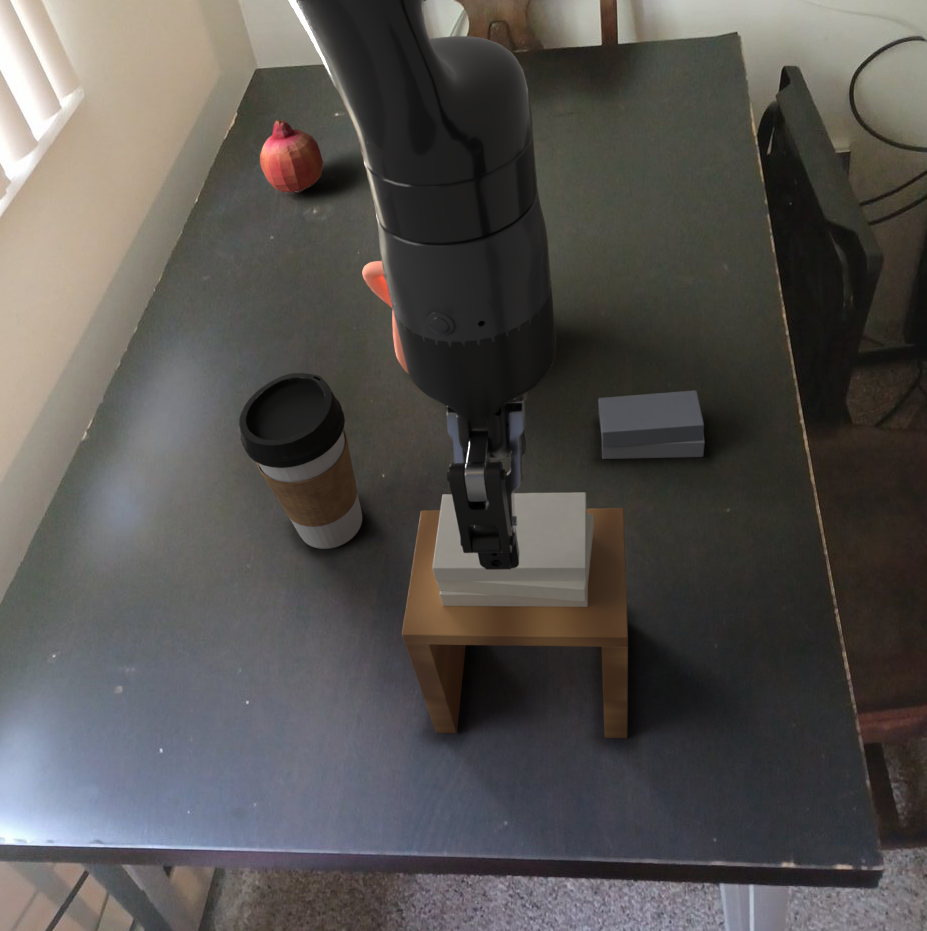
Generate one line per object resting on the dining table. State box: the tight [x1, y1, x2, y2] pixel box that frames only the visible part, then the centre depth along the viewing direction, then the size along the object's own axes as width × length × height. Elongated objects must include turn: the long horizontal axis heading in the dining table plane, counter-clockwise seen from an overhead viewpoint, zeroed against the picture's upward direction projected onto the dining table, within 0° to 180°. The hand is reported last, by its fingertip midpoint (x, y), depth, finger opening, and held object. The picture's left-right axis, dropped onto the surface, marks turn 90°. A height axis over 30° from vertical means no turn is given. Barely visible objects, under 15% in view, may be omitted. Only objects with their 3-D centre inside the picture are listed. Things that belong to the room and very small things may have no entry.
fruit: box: [259, 119, 324, 194], centre depth 118 cm, size 8×8×10 cm
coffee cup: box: [238, 372, 363, 550], centre depth 76 cm, size 8×8×15 cm
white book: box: [433, 491, 588, 581], centre depth 56 cm, size 9×6×1 cm, turn 85°
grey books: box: [597, 390, 706, 460], centre depth 82 cm, size 9×5×4 cm, turn 85°
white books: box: [437, 513, 594, 607], centre depth 58 cm, size 10×7×3 cm
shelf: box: [401, 507, 629, 739], centre depth 64 cm, size 14×10×14 cm
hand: (504, 504), depth 54 cm, fingers open, 8 cm apart
